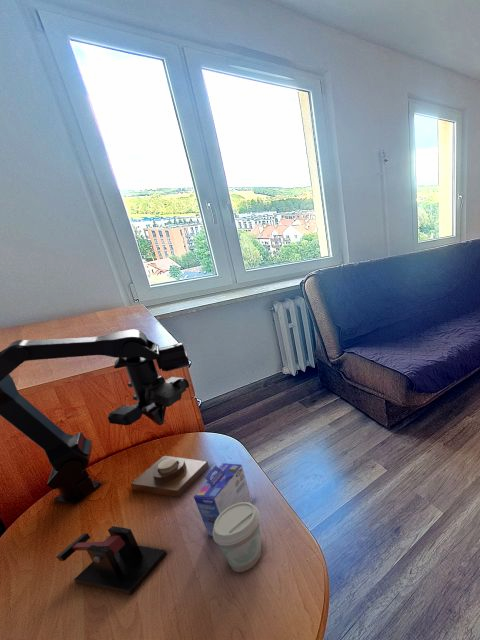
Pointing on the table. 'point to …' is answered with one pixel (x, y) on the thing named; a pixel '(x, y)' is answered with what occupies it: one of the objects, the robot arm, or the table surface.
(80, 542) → the red lever handle
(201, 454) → the table surface
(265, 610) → the table surface
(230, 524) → the coffee cup
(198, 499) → the ink cartridge box
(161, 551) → the lever stand
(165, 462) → the bell button
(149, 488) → the bell block
